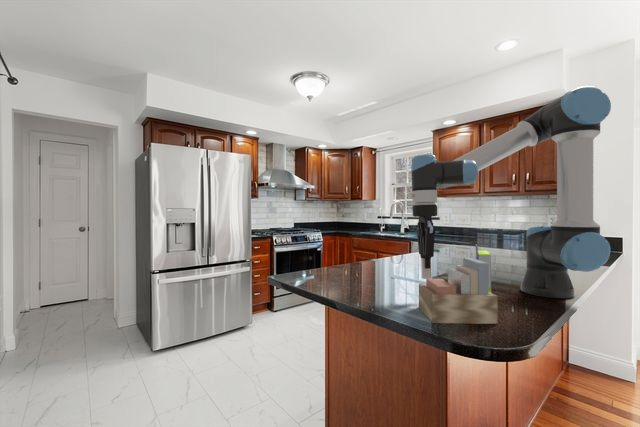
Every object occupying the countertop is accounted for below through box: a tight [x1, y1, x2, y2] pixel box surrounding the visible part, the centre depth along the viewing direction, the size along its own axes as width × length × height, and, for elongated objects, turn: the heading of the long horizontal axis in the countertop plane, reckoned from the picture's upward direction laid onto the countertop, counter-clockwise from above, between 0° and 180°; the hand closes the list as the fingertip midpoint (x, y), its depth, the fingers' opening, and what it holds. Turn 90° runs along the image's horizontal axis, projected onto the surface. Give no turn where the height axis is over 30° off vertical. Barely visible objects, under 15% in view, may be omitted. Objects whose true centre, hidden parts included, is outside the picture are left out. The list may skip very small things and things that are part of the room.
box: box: [475, 244, 492, 293], centre depth 102 cm, size 10×4×17 cm, turn 157°
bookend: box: [447, 268, 470, 295], centre depth 85 cm, size 2×9×12 cm, turn 178°
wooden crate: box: [418, 283, 498, 325], centre depth 86 cm, size 16×13×7 cm
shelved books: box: [455, 257, 489, 295], centre depth 85 cm, size 4×10×15 cm, turn 178°
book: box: [425, 278, 456, 294], centre depth 86 cm, size 4×10×9 cm, turn 179°
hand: (426, 278), depth 100 cm, fingers closed
